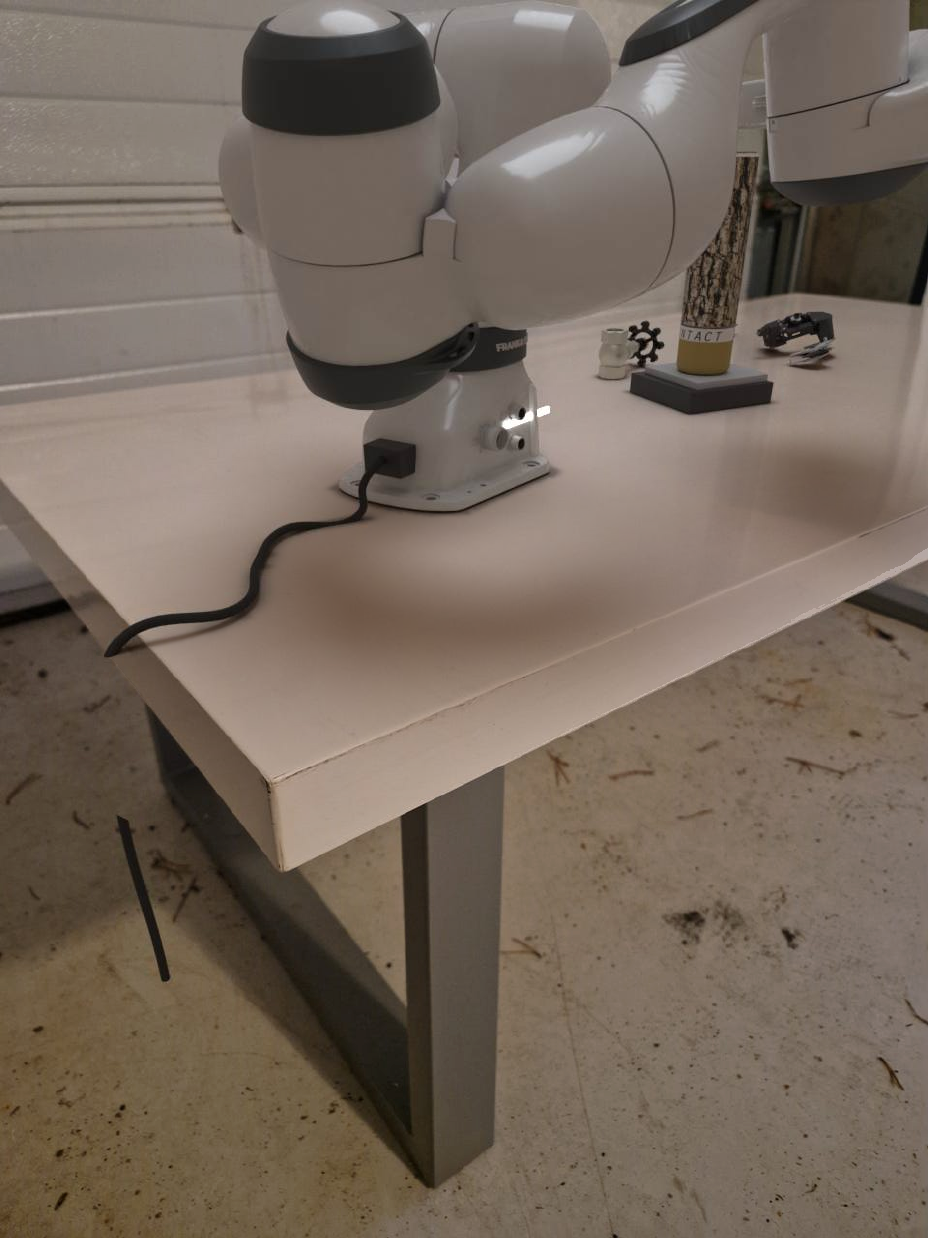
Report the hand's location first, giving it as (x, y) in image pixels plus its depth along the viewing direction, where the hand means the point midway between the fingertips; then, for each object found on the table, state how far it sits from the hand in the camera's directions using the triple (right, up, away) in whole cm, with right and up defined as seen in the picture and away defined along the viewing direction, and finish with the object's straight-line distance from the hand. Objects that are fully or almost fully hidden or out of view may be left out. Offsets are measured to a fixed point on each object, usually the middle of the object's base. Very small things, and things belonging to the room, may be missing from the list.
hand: (810, 108), depth 81 cm
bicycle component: (+18, -9, +51) cm, 55 cm away
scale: (-3, -20, +29) cm, 36 cm away
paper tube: (-3, -18, +27) cm, 33 cm away
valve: (-10, -13, +43) cm, 46 cm away
